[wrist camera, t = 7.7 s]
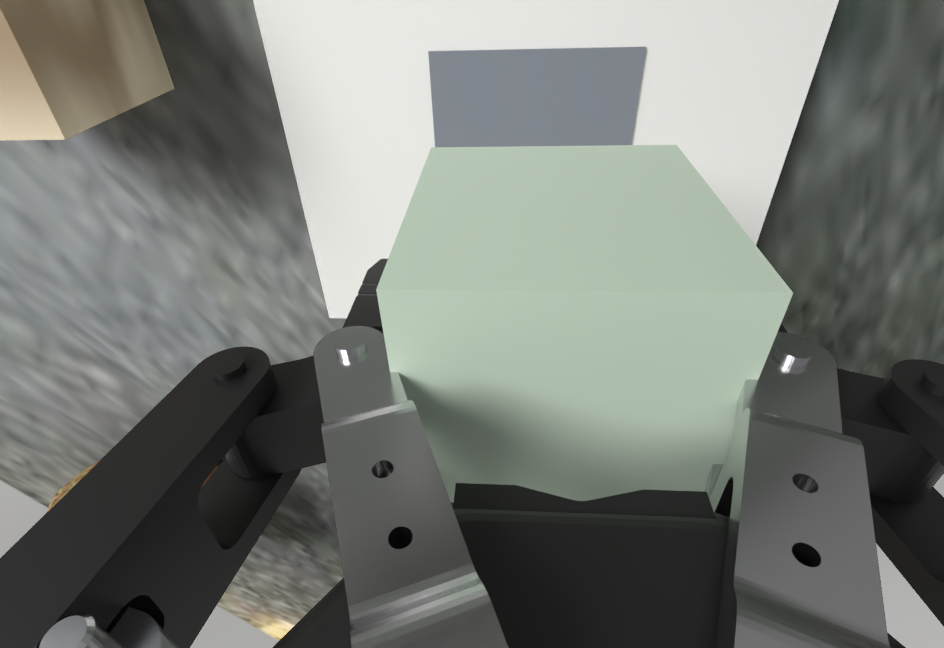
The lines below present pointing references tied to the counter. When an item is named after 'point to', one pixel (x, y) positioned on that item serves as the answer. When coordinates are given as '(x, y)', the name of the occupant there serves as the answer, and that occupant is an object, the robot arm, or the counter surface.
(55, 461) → the counter surface
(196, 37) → the counter surface
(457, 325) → the sage block
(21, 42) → the beech block
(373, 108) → the baseplate
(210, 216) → the counter surface
